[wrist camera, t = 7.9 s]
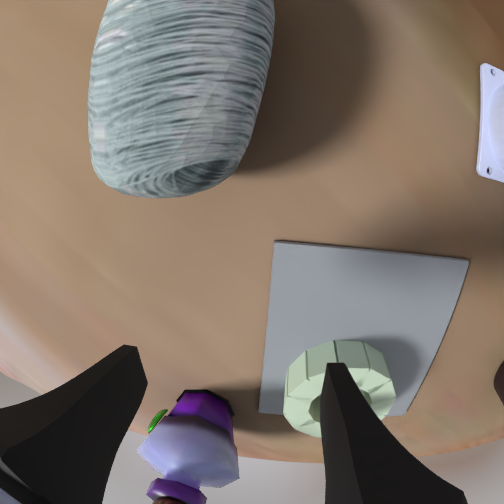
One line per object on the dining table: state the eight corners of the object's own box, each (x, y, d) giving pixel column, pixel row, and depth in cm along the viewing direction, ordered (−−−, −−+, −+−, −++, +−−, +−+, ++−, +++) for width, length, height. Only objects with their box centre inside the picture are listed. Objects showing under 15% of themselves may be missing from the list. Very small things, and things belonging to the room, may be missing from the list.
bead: (399, 341, 20) (410, 368, 17) (369, 411, 23) (374, 436, 20) (292, 337, 21) (292, 365, 18) (280, 408, 24) (278, 435, 21)
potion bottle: (160, 365, 24) (102, 477, 13) (258, 389, 24) (236, 517, 13) (163, 420, 28) (124, 512, 16) (243, 440, 27) (223, 540, 16)
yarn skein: (272, 232, 15) (92, 205, 7) (152, 192, 20) (15, 167, 11) (334, 16, 13) (251, -109, 5) (212, 24, 18) (115, -45, 9)
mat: (466, 259, 18) (469, 261, 17) (402, 412, 24) (403, 415, 23) (274, 240, 19) (273, 242, 19) (258, 409, 25) (258, 412, 24)
